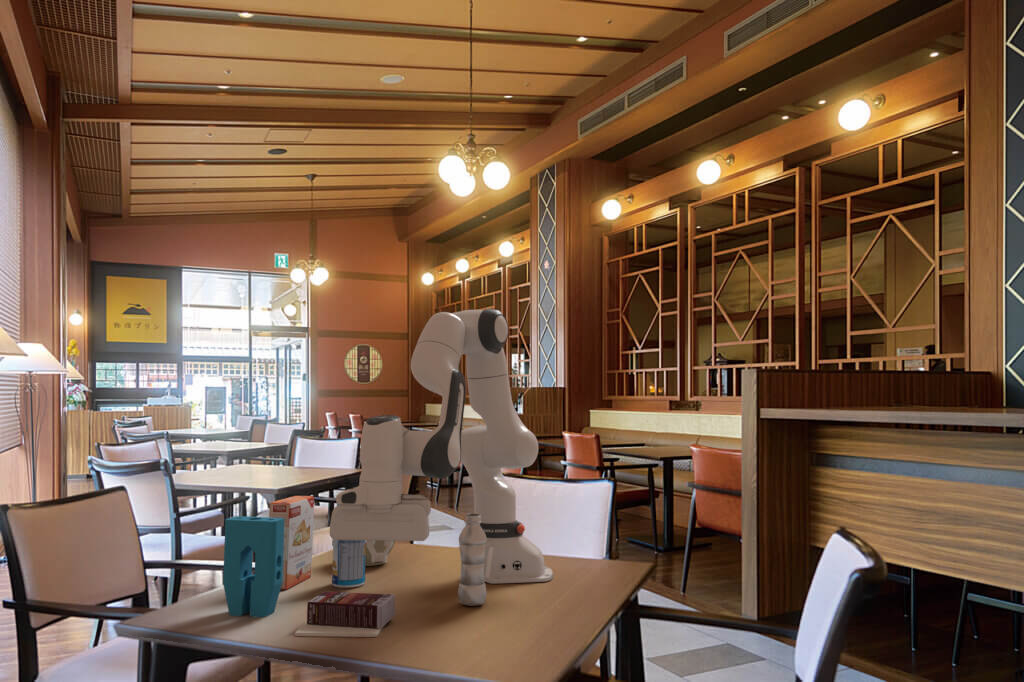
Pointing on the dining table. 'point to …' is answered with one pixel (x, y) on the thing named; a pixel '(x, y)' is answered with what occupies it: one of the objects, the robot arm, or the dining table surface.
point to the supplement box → (351, 609)
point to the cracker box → (295, 537)
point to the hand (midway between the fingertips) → (379, 562)
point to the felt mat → (336, 631)
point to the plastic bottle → (472, 562)
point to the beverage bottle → (348, 563)
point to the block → (238, 552)
